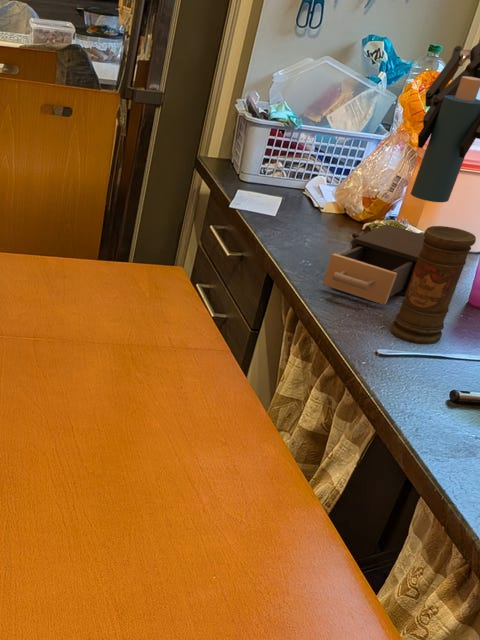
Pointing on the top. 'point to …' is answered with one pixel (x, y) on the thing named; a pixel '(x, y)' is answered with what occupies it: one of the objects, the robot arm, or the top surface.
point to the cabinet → (393, 244)
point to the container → (432, 284)
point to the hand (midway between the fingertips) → (440, 146)
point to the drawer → (369, 273)
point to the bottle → (447, 143)
